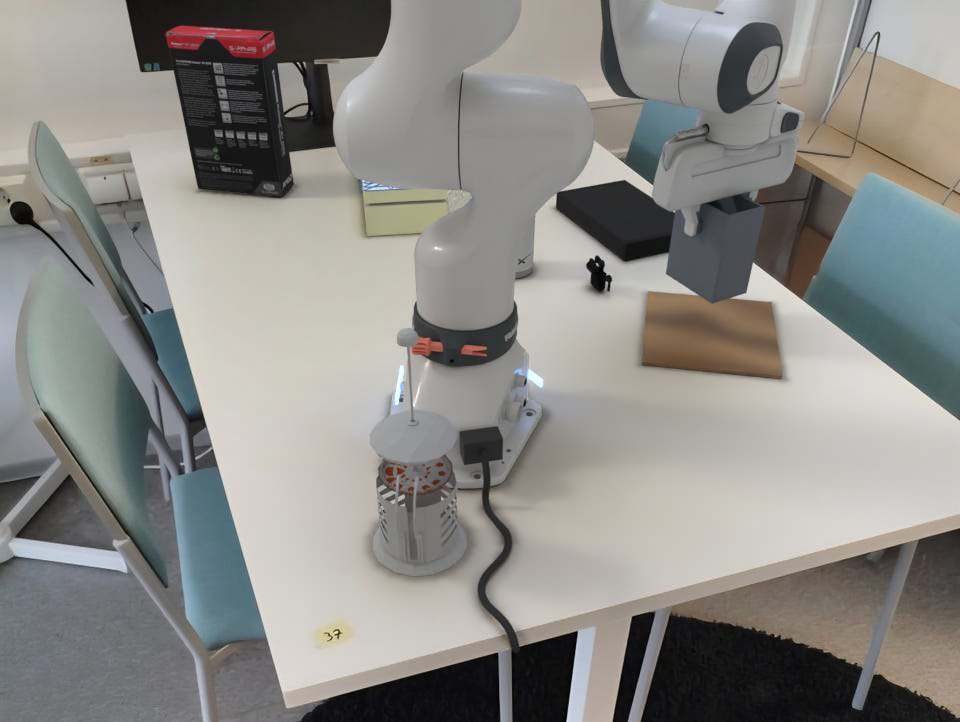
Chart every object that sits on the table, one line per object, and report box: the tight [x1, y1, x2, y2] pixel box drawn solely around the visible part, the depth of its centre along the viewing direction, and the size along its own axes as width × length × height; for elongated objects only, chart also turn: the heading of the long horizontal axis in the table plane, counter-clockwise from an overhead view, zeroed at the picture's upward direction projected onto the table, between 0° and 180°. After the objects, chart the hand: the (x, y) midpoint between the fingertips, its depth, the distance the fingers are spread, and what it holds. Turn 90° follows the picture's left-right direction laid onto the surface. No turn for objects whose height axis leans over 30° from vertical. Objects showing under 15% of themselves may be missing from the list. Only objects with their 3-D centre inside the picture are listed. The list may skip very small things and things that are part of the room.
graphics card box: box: [165, 25, 294, 198], centre depth 152 cm, size 17×7×27 cm, turn 80°
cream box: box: [357, 179, 449, 237], centre depth 160 cm, size 45×15×10 cm, turn 8°
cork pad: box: [641, 290, 783, 380], centre depth 121 cm, size 20×18×1 cm
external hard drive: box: [555, 179, 675, 262], centre depth 147 cm, size 14×23×3 cm, turn 24°
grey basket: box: [665, 194, 766, 304], centre depth 113 cm, size 12×6×10 cm
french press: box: [369, 327, 468, 577], centre depth 80 cm, size 10×12×25 cm
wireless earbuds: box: [585, 254, 613, 293], centre depth 129 cm, size 7×2×5 cm, turn 21°
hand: (714, 227), depth 112 cm, fingers closed on grey basket, 6 cm apart
